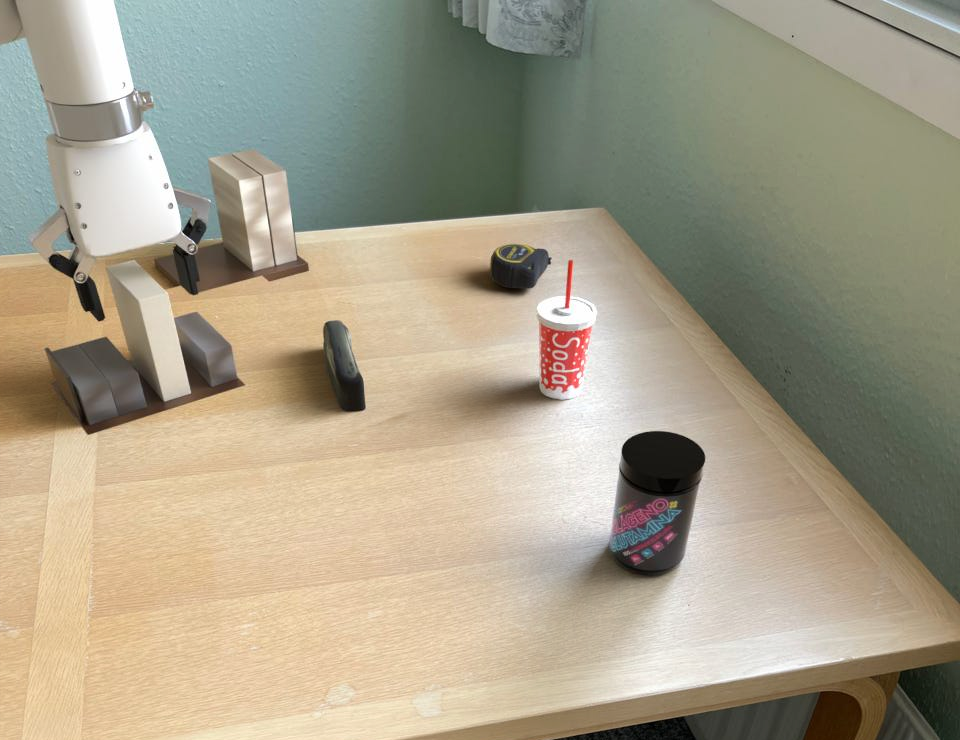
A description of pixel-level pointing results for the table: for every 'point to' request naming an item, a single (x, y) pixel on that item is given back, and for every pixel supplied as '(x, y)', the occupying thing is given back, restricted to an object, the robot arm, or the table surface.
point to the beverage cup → (564, 342)
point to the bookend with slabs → (246, 225)
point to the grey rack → (138, 376)
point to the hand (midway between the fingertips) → (144, 302)
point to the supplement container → (655, 501)
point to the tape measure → (518, 265)
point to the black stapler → (343, 367)
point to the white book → (149, 329)
